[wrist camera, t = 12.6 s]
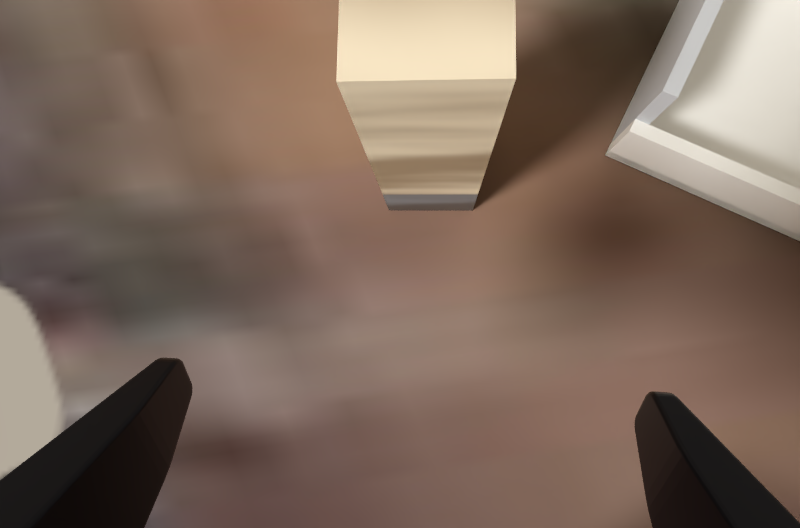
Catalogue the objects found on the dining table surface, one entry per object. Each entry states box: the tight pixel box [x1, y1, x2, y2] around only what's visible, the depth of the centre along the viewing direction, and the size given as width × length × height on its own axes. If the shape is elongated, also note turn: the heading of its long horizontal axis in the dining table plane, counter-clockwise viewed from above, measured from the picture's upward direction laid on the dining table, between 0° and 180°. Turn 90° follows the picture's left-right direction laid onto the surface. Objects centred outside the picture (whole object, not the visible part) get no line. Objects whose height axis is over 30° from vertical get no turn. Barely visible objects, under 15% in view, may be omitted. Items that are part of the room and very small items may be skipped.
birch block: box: [336, 0, 516, 210], centre depth 18 cm, size 4×4×13 cm
